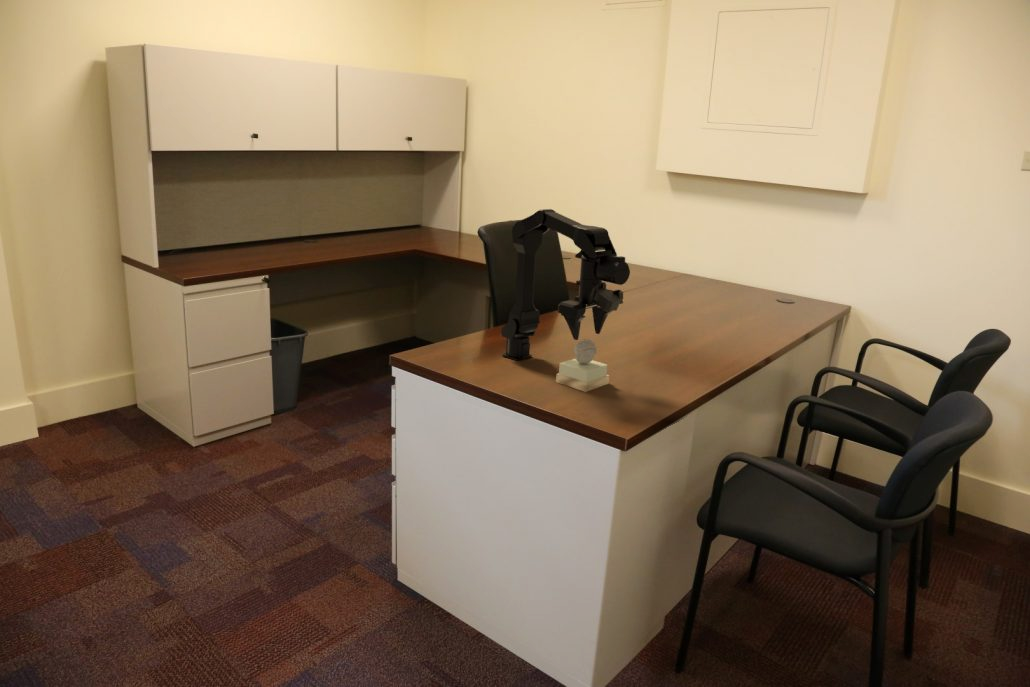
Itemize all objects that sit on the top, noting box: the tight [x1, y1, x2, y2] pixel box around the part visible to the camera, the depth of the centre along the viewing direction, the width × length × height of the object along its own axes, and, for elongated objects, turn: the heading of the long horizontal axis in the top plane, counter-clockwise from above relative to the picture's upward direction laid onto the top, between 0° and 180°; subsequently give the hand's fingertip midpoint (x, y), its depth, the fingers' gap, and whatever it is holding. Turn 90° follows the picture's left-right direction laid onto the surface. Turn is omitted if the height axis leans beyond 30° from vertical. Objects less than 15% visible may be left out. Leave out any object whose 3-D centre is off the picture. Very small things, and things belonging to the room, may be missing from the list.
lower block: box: [555, 372, 610, 393], centre depth 191 cm, size 10×10×3 cm
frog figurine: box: [573, 338, 598, 364], centre depth 189 cm, size 6×7×7 cm
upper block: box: [558, 357, 608, 383], centre depth 190 cm, size 9×9×3 cm
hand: (586, 336), depth 188 cm, fingers open, 9 cm apart
